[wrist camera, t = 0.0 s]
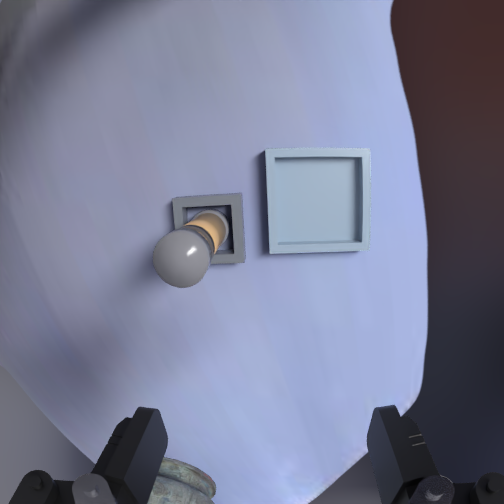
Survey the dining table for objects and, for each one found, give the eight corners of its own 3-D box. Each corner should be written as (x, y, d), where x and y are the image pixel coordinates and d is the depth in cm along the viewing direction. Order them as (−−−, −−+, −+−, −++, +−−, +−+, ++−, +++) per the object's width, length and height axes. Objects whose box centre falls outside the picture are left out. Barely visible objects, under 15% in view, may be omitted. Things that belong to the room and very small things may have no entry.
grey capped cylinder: (191, 209, 38) (149, 234, 24) (228, 207, 38) (204, 231, 24) (194, 246, 39) (156, 287, 26) (231, 245, 39) (209, 287, 25)
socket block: (177, 197, 38) (172, 198, 36) (242, 192, 37) (240, 194, 35) (183, 259, 40) (178, 264, 38) (245, 258, 39) (244, 262, 37)
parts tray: (265, 149, 35) (265, 148, 34) (365, 149, 35) (370, 148, 33) (269, 249, 39) (269, 253, 37) (365, 246, 38) (369, 250, 36)
